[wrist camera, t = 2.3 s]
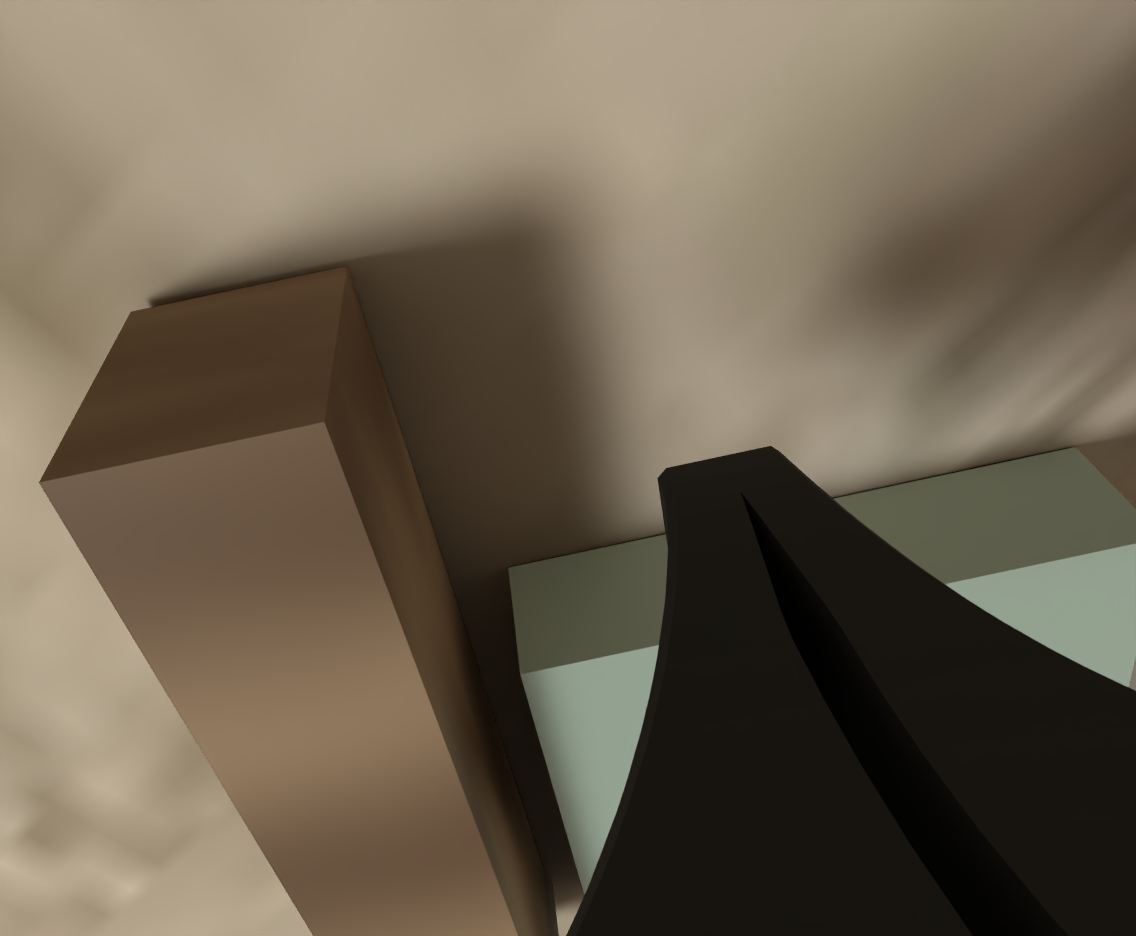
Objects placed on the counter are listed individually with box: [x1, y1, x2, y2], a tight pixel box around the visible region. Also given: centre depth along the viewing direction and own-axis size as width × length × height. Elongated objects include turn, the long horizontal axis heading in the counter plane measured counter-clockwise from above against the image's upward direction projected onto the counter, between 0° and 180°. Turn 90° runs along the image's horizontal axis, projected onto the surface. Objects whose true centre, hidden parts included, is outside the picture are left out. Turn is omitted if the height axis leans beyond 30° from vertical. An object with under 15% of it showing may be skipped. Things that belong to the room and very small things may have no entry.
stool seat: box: [508, 447, 1136, 895], centre depth 19 cm, size 10×10×2 cm
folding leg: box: [39, 266, 559, 936], centre depth 17 cm, size 17×3×4 cm, turn 10°
